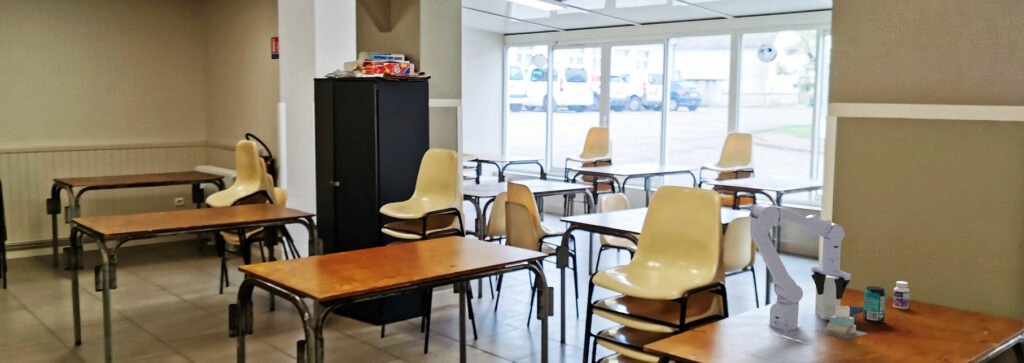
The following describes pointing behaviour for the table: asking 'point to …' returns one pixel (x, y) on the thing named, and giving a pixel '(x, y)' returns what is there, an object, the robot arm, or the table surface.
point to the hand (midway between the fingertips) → (829, 296)
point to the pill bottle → (901, 295)
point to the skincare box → (827, 299)
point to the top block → (841, 321)
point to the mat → (858, 333)
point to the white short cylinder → (842, 312)
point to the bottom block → (841, 329)
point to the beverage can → (874, 304)
